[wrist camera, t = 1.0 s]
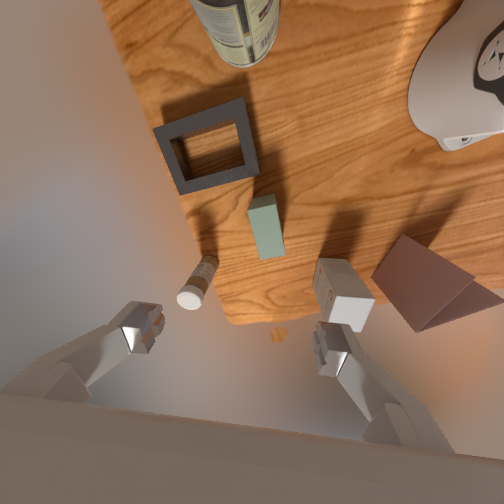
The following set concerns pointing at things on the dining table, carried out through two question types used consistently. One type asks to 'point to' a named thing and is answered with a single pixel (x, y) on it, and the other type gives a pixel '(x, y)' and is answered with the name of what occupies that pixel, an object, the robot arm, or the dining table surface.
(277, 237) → the sage block
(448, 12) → the dining table surface
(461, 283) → the greeting card
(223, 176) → the keyed collar
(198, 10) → the coffee can
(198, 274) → the sprinkles bottle
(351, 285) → the small box
